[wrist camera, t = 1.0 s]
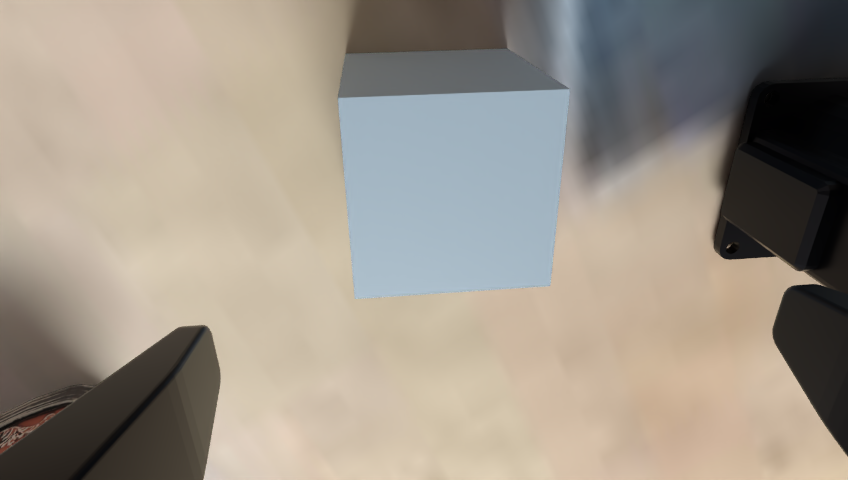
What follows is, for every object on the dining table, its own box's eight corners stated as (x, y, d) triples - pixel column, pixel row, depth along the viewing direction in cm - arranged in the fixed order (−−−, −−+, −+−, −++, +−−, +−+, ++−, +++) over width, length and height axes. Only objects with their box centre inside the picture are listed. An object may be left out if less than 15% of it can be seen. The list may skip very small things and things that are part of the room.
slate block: (507, 48, 18) (570, 89, 12) (499, 196, 20) (549, 285, 14) (345, 53, 17) (337, 97, 12) (357, 204, 19) (354, 298, 14)
